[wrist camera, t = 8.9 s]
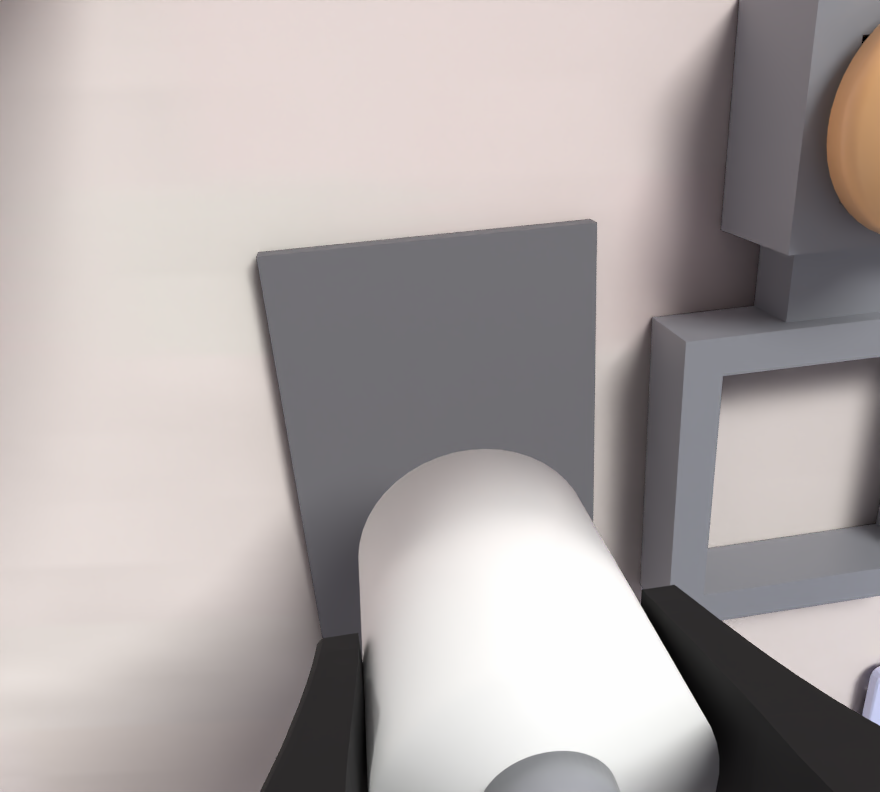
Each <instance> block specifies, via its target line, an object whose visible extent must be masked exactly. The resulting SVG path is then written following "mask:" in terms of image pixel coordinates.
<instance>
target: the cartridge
mask: <svg viewBox="0 0 880 792" xmlns="http://www.w3.org/2000/svg"><path fill="white" fill-rule="evenodd" d="M358 560H359V584H360V609H361V633H362V657H363V680H364V700H365V729H366V753H367V777H368V792H716V788H717V782H718V777H719V753H718V747H717V742H716V739H715V736H714V734H713V731H712V728H711V726H710V724H709V723H708V721H707V719H706V718H705V716H704V714H703V712H702V711H701V709H700V707H699V705H698V704H697V702H696V700H695V698H694V697H693V695H692V693H691V692H690V690H689V688H688V686H687V685H686V683H685V681H684V679H683V678H682V676H681V674H680V672H679V671H678V669H677V667H676V666H675V664H674V662H673V660H672V659H671V657H670V655H669V653H668V652H667V650H666V648H665V646H664V645H663V643H662V641H661V640H660V638H659V636H658V634H657V633H656V631H655V629H654V627H653V626H652V624H651V622H650V620H649V619H648V617H647V615H646V613H645V612H644V610H643V608H642V607H641V605H640V603H639V601H638V600H637V598H636V596H635V594H634V593H633V591H632V589H631V587H630V586H629V584H628V582H627V581H626V579H625V577H624V575H623V574H622V572H621V570H620V568H619V567H618V565H617V563H616V561H615V560H614V558H613V556H612V555H611V553H610V551H609V549H608V548H607V546H606V544H605V542H604V541H603V539H602V537H601V535H600V534H599V532H598V530H597V528H596V527H595V525H594V523H593V522H592V520H591V518H590V516H589V515H588V513H587V511H586V509H585V508H584V506H583V504H582V502H581V501H580V499H579V497H578V496H577V494H576V492H575V491H574V489H573V488H572V487H571V486H570V485H569V483H568V482H567V481H566V480H565V479H564V478H563V477H562V476H561V475H560V474H558V473H557V472H556V471H555V470H553V469H552V468H550V467H549V466H547V465H546V464H544V463H542V462H540V461H538V460H536V459H534V458H532V457H529V456H526V455H523V454H520V453H516V452H511V451H505V450H498V449H475V450H466V451H460V452H455V453H451V454H448V455H444V456H441V457H438V458H435V459H433V460H431V461H428V462H426V463H424V464H422V465H420V466H418V467H417V468H415V469H413V470H412V471H410V472H408V473H407V474H406V475H404V476H403V477H402V478H400V479H399V480H398V481H396V482H395V483H394V484H393V485H392V486H391V487H390V488H389V489H388V490H387V491H386V492H385V493H384V494H383V496H382V497H381V498H380V500H379V501H378V502H377V503H376V505H375V506H374V508H373V510H372V511H371V513H370V515H369V516H368V519H367V521H366V524H365V526H364V528H363V531H362V535H361V539H360V544H359V554H358Z"/></svg>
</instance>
